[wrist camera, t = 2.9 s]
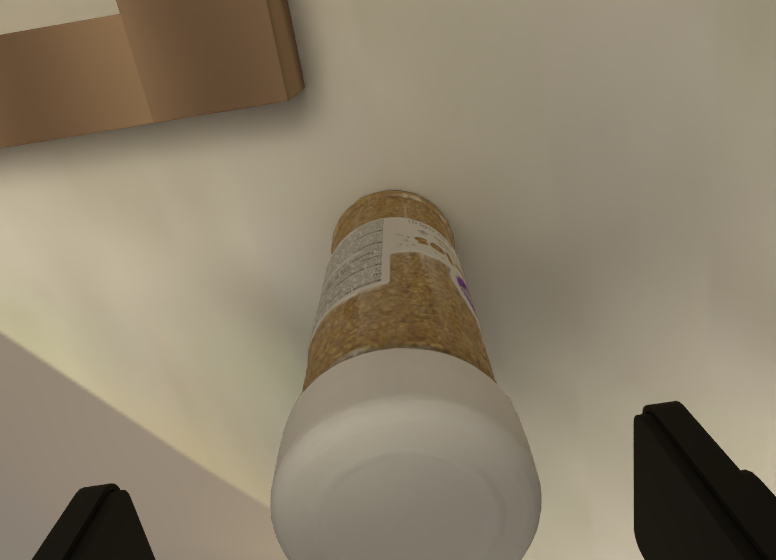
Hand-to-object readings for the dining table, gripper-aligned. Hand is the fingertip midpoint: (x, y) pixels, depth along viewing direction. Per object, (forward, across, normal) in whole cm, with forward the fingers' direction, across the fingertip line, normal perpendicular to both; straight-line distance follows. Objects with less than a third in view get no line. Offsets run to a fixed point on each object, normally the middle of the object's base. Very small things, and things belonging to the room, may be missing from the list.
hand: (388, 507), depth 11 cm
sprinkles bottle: (+12, -1, -1) cm, 13 cm away
